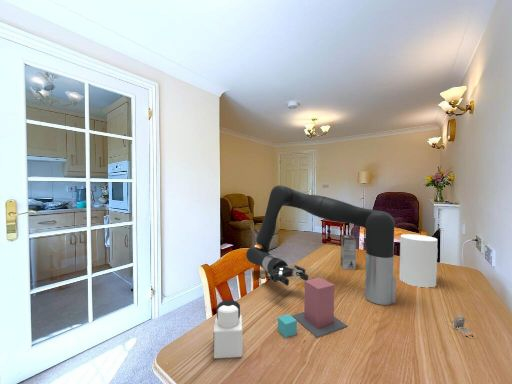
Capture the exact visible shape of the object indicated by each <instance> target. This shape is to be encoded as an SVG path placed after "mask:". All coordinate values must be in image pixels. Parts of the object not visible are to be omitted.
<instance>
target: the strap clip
mask: <svg viewBox="0 0 512 384" xmlns="http://www.w3.org/2000/svg"><path fill="white" fill-rule="evenodd" d="M459 319H460V320H459ZM465 320H466V319H465V317H464V316H462V315H456V316H455V318H454V320H453V322H454V327H455V328H457V327H458V328H459V327H463V328H461V329H457V331H458V330H460V331H462V332H463V333H465V334H466V333H467V331H468V330H469V329H467V328H465V327H464V326H465V323H466V321H465ZM455 328H454V329H455ZM471 332H472V333H474V332H473V331H471Z"/></svg>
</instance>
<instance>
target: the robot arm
mask: <svg viewBox="0 0 512 384" xmlns="http://www.w3.org/2000/svg"><path fill="white" fill-rule="evenodd" d="M282 207H292V208H296V209H298V210H299V209H300V210H302V211H305V212H306V213H308V214H310V215H312V216H315V217H318V218H320V219H324V220H327V221H331V222H337V223H343V224H344V223H346V224H350V225H351V224H352V225H355V226H359V227H362V228H365V231H364V232H365V242H364V244H365V288H364V294H365V295H364V296H365V298H366V300H367V301H369V302H371V303H373V304H377V305H382V306H389V305H392V304H396V289H397V288H396V286H397V285H396V282H397V281H396V280H397V279H396V276H394V265H395V263H394V261H395V245H394V244H395V225H396V221H395V218H394V217H393V216H392V215H391V214H390V213H388V212H387V211H383V210H378V209H377V210H376V209H371V208H370V209H369V208H366V207H361V206H356V205H353V204H351V203H349V202H346V201H345V202H344V201H341V200H338V199H334V198H331V197H328V196H323V195H318V194H317V195H316V194H309V193H308V194H307V193H304V192H300V191H297V190H295V189H292V188H291V187H288V186H284V185H276V186H274V187H272V189H271V191H270V194H269V198H268V201H267V205H266V209H265V214H264V218H263V221H262V223H261V226H260V228H259V231H258V233H257V236H256V239H255V242H256V243H257V244H258V245H260V246H261V247H260V248H259V247H255V246H251V247H248V249H246V254H245V256H246V260H247V261H248V262H249V263H251V264H254V265H256V266H259V267H261V269H263V270H265V272H266V273H267V278H268V279H270V280H271V281H272V282H273V283H277V282H278V283H282V285H285V286H289V283H290V280H289V278H293V279H295V278H300V279H301V280H303V281H304V282H305V281H307V280H309V274H307V273H306V269H305V268H303V267H301V266H299V265H295V264H294V266H293V267H292V266H289V265H288V263H287V262H286V261H285V260H283V259H281V258H279V257H278V256H276V255H274V254H273V255H272V254H271V253H270V245H271V242H272V240H273V238H274V235H275V231H276V227H277V221H278V220H277V219H278V216H279V212H280V210H281V209H282Z"/></svg>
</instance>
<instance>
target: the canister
mask: <svg viewBox="0 0 512 384" xmlns="http://www.w3.org/2000/svg"><path fill="white" fill-rule="evenodd" d="M399 246H400V247H399V280H400V281H401V282H402V281H403V282H402V283H404V282H405V283H404V284H406V283H407V284H406V285H410V286H412V287H415V286H417V287H416V288H420V287H426V288H425V289H429V288H428V287H434V286H436V287H437V273H438V272H437V270H438V269H437V268H438V238H436V237H434V236H433V237H432V236H429V235H423V234H415V233H414V234H413V233H412V234H411V233H408V234H407V233H403V234H401V235H400V245H399ZM434 288H435V287H434Z"/></svg>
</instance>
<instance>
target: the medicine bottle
mask: <svg viewBox="0 0 512 384" xmlns="http://www.w3.org/2000/svg"><path fill="white" fill-rule="evenodd" d="M213 326H214V327H213V358H214V359H228V358H229V359H231V358H242V357H243V315H242V314H241V306H240V303H239V302H238V301H237V300H234V299H233V300H232V299H226V300H223V301H220V302H219V303H218V304H217V306H216V316H215V321H214V325H213Z"/></svg>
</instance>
